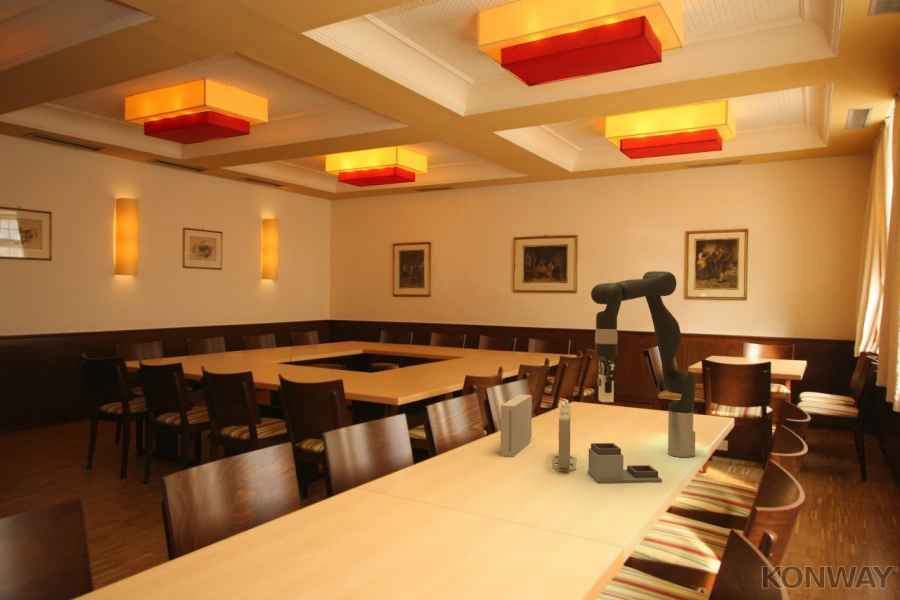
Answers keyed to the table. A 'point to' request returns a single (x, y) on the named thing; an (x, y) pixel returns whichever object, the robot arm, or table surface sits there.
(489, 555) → the table surface
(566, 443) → the network device
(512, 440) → the game console
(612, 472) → the grey stepped block
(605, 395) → the plug
